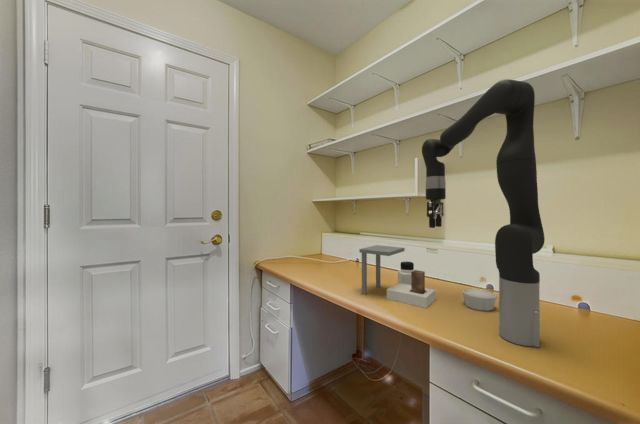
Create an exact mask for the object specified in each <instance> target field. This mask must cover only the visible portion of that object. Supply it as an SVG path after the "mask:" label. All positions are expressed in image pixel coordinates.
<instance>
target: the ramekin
mask: <svg viewBox="0 0 640 424" xmlns="http://www.w3.org/2000/svg"><path fill="white" fill-rule="evenodd" d="M461 291H462V295H463V302H464V305H465V306H466V307H468V308H470V309H473V310H476V311H481V312H490V310H491V311H493V310H494V308H495V305H496V300H497V298H498V297H497V294H496V293H493V292H491V291H488V290H484V289H479V288H478V289H477V288H467V289H464V290H461Z"/></svg>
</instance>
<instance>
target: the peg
mask: <svg viewBox="0 0 640 424" xmlns="http://www.w3.org/2000/svg"><path fill="white" fill-rule="evenodd" d="M425 273H426V272H425V271H423V270H417V269H414V271H412V272H411V292H414V293H419V294H424V293H425V288H426V286H425V285H426V284H425V283H426V280H425V279H426V277H425V276H426V275H425Z"/></svg>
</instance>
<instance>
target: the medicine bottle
mask: <svg viewBox="0 0 640 424" xmlns="http://www.w3.org/2000/svg"><path fill="white" fill-rule="evenodd" d="M414 264H415V263H414V262H412V261H408V260H407V261H405V260H404V261H401V262H400V270H397V284H398V283H402V284H407V285H411V272H412V271H414V270H415V269H414V268H415V267H414V266H415V265H414Z"/></svg>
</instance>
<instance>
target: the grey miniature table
mask: <svg viewBox="0 0 640 424" xmlns="http://www.w3.org/2000/svg"><path fill="white" fill-rule="evenodd" d="M358 252H359V253H361V294H362V295H365V296H366V295H367V294H368V282H367V281H368V280H367V279H368V278H367V277H368V275H367V273H368V272H367V271H368V268H367V267H368V265H367V264H368V263H367V261H368V260H367V259H368V258H367V256H368V254H371V255H375V287H376V288H381V256H385V257H390V256H393V255H397V254H399V253H404V252H405V247H400V246H390V245H379V244H376V245H370V246H367V247H362V248H359V251H358Z"/></svg>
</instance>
